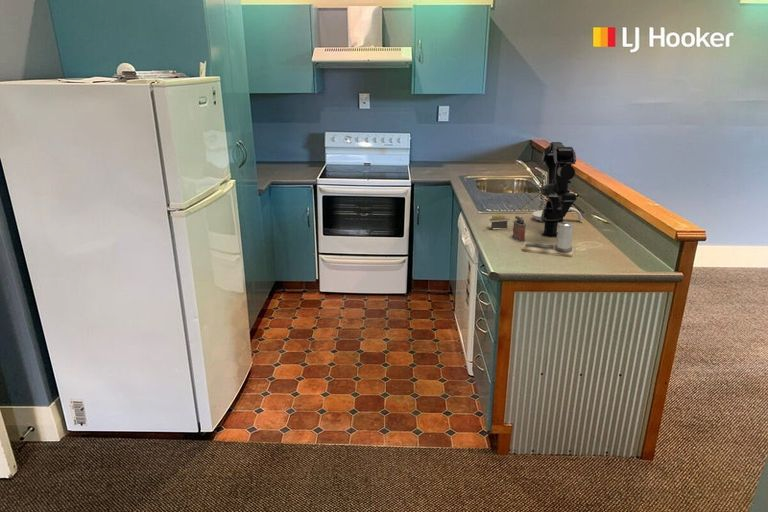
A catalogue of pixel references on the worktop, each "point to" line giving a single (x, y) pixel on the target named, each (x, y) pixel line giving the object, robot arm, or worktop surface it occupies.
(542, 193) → the robot arm
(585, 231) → the worktop surface
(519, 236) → the lighter
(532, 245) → the board
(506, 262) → the worktop surface
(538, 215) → the spoon rest
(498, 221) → the platform
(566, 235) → the silver cylindrical piece
